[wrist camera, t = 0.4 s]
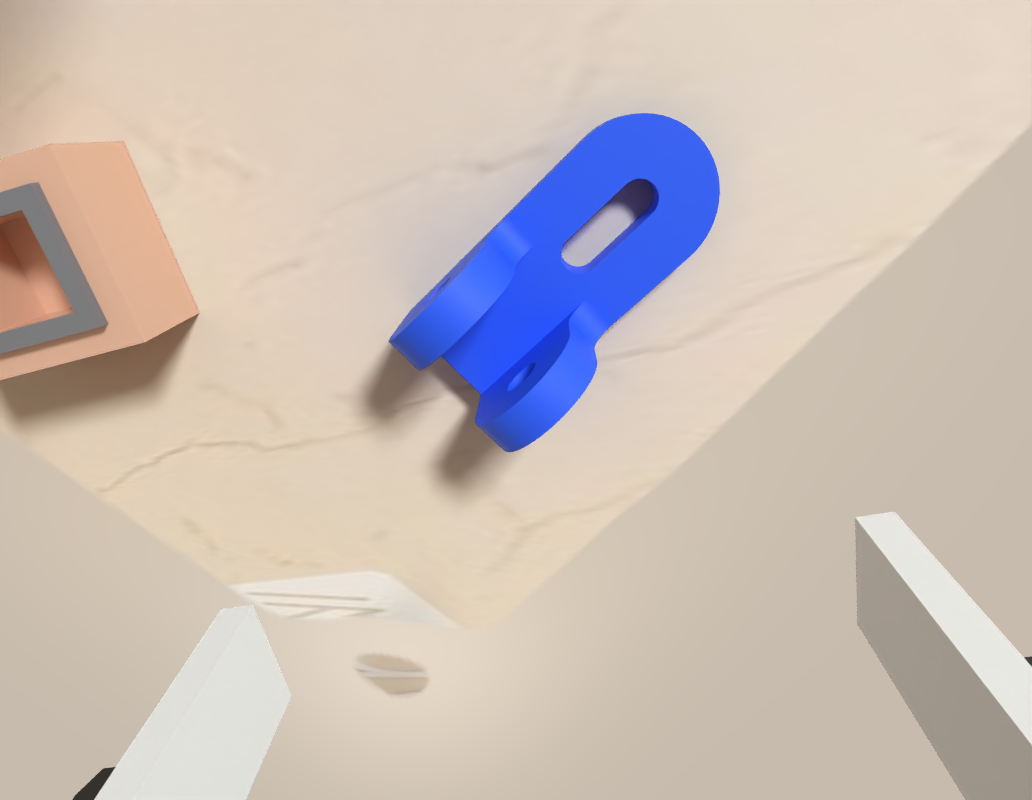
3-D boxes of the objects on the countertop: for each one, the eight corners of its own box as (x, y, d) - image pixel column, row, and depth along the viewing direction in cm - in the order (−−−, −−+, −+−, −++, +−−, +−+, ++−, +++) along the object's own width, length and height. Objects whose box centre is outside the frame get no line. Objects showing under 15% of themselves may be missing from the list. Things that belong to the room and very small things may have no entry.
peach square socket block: (-33, 189, 39) (-141, 201, 33) (123, 141, 38) (40, 144, 31) (54, 351, 42) (-29, 389, 36) (199, 312, 41) (138, 345, 35)
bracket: (507, 404, 43) (498, 472, 34) (410, 310, 41) (375, 358, 32) (741, 197, 37) (797, 218, 29) (643, 78, 35) (672, 63, 27)
